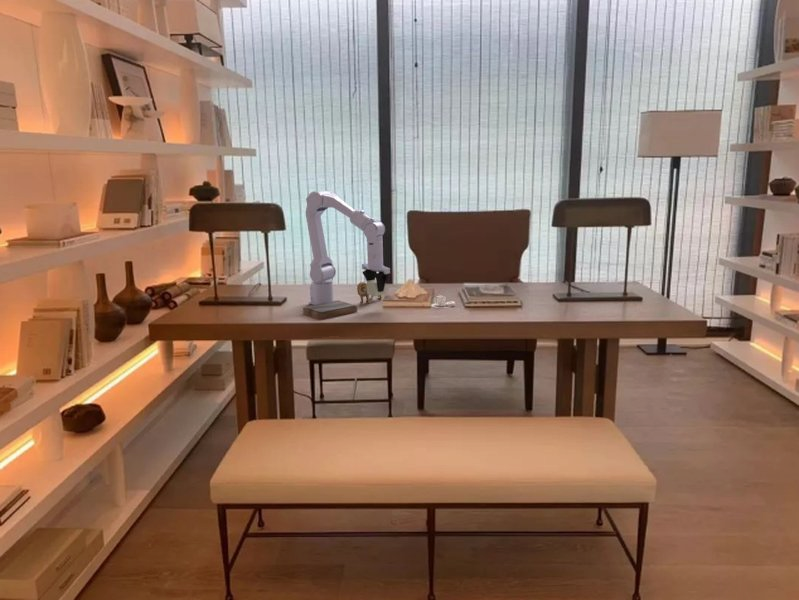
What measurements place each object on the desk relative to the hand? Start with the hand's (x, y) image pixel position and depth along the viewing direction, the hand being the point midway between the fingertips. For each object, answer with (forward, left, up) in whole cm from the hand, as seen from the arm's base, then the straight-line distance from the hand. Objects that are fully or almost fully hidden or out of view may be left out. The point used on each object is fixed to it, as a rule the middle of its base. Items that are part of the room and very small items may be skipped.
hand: (376, 290), depth 236 cm
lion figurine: (-12, +6, -8) cm, 16 cm away
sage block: (0, 0, -1) cm, 1 cm away
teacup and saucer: (+15, +21, -8) cm, 27 cm away
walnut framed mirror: (-9, -15, -8) cm, 19 cm away
